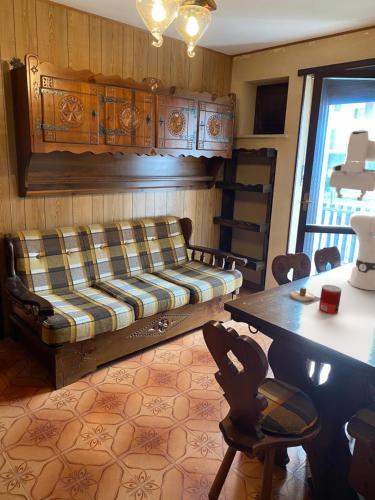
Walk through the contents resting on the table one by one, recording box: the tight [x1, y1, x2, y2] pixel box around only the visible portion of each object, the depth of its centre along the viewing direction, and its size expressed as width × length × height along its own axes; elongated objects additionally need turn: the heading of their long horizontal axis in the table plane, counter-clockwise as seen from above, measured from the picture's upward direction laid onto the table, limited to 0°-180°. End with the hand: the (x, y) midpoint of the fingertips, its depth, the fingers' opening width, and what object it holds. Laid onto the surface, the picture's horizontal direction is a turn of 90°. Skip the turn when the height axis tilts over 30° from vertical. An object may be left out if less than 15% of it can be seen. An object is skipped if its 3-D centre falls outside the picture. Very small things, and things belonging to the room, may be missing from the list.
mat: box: [280, 289, 320, 306], centre depth 183 cm, size 14×14×1 cm
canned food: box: [318, 284, 342, 315], centre depth 168 cm, size 8×8×11 cm
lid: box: [289, 287, 315, 302], centre depth 183 cm, size 11×11×4 cm
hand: (349, 199), depth 176 cm, fingers open, 8 cm apart
